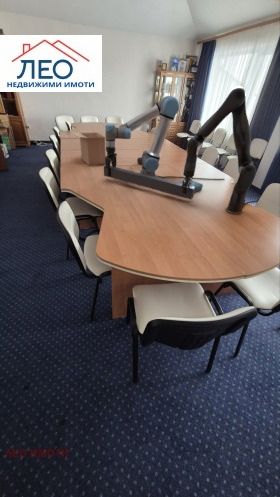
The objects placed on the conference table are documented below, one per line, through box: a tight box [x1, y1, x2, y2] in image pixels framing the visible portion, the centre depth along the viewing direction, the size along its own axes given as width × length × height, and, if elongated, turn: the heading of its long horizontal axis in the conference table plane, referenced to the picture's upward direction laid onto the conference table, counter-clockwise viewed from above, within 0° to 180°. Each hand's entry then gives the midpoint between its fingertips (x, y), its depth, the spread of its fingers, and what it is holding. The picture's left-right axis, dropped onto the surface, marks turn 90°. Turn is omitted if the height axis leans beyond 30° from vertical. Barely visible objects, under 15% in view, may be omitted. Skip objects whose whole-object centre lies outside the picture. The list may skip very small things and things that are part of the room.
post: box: [103, 165, 195, 200], centre depth 174 cm, size 79×5×8 cm, turn 60°
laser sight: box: [136, 154, 143, 165], centre depth 236 cm, size 10×22×10 cm, turn 78°
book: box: [176, 179, 204, 193], centre depth 184 cm, size 23×16×5 cm
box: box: [70, 129, 106, 166], centre depth 229 cm, size 44×36×27 cm
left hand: (111, 175), depth 189 cm, fingers closed on post, 5 cm apart
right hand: (185, 192), depth 162 cm, fingers closed on post, 5 cm apart
